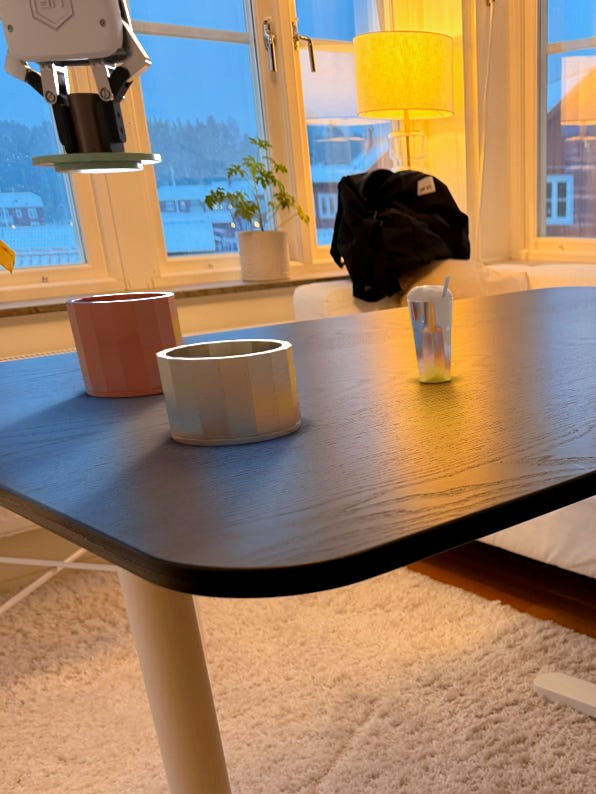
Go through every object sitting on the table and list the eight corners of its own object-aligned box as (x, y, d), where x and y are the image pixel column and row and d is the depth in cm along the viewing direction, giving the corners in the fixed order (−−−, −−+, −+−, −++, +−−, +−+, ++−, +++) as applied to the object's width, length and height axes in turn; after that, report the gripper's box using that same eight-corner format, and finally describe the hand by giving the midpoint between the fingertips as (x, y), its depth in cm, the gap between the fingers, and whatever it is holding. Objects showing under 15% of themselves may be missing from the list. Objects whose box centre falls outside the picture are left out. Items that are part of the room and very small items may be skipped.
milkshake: (435, 387, 87) (428, 278, 83) (404, 381, 91) (396, 276, 86) (471, 380, 90) (466, 274, 85) (439, 374, 93) (433, 272, 89)
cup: (69, 399, 89) (46, 304, 85) (111, 380, 99) (93, 294, 95) (169, 395, 89) (151, 300, 85) (203, 377, 98) (187, 290, 94)
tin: (152, 448, 69) (135, 361, 66) (196, 418, 78) (182, 341, 75) (284, 443, 68) (272, 356, 65) (312, 415, 77) (303, 337, 75)
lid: (10, 172, 79) (-10, 91, 76) (69, 175, 89) (53, 104, 86) (134, 165, 78) (118, 83, 75) (179, 169, 88) (167, 97, 86)
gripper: (-75, -100, 72) (-10, 156, 80) (121, -114, 71) (166, 147, 79) (-24, -75, 79) (32, 160, 87) (155, -87, 78) (194, 151, 86)
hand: (95, 151), depth 83 cm, fingers closed on lid, 3 cm apart
